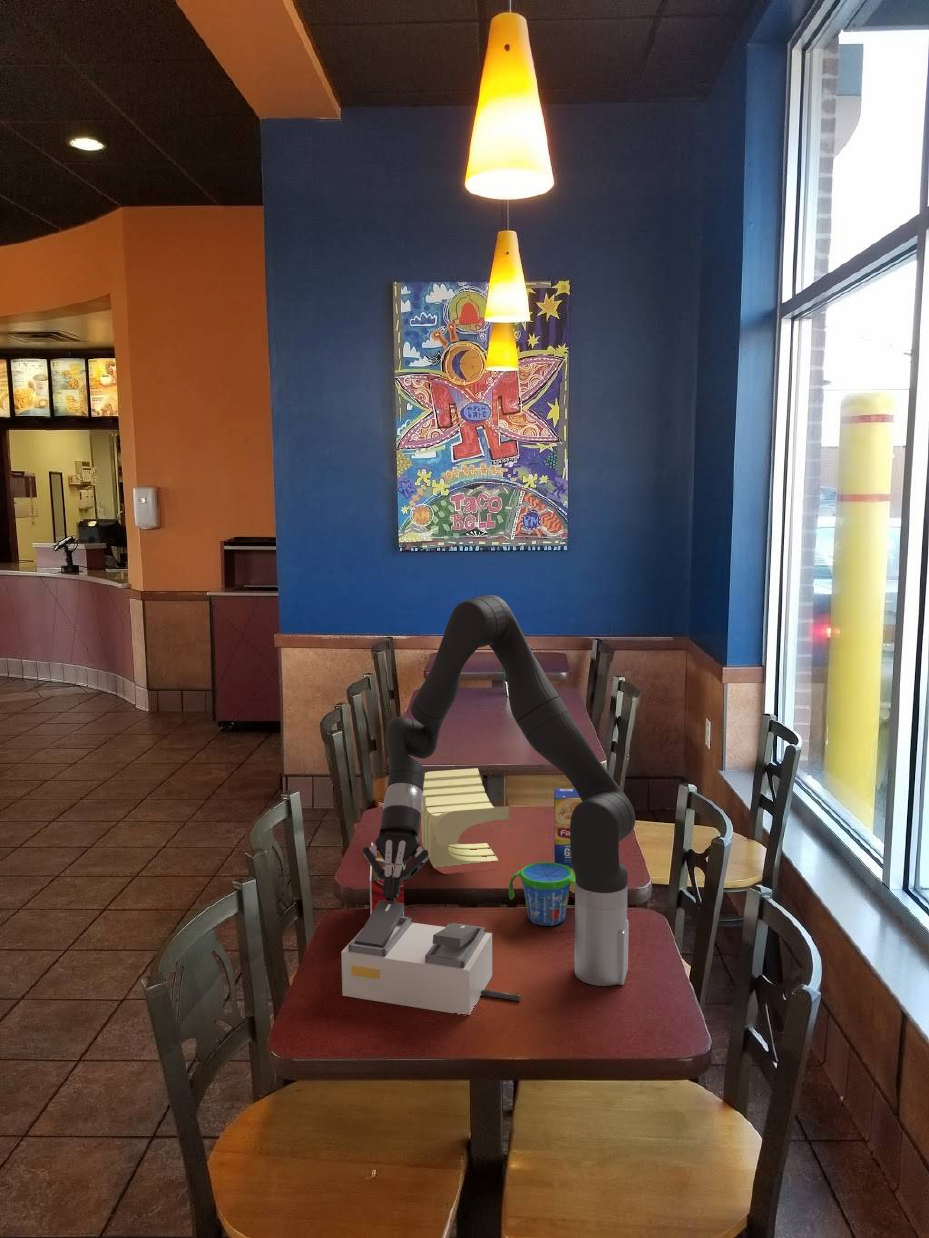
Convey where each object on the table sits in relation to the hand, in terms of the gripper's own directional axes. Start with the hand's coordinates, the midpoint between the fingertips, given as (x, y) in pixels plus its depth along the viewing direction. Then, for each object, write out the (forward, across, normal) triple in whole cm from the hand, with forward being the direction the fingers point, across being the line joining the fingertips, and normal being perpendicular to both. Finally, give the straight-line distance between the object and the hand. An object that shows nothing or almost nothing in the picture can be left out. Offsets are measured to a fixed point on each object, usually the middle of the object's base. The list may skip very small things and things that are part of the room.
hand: (390, 899), depth 174 cm
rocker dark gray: (+5, -1, -2) cm, 5 cm away
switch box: (+14, +10, +4) cm, 17 cm away
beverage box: (-17, +34, +35) cm, 52 cm away
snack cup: (-7, +27, +25) cm, 38 cm away
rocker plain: (+7, +13, -3) cm, 15 cm away
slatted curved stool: (-27, +6, +45) cm, 53 cm away
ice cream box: (-3, -4, +22) cm, 23 cm away
